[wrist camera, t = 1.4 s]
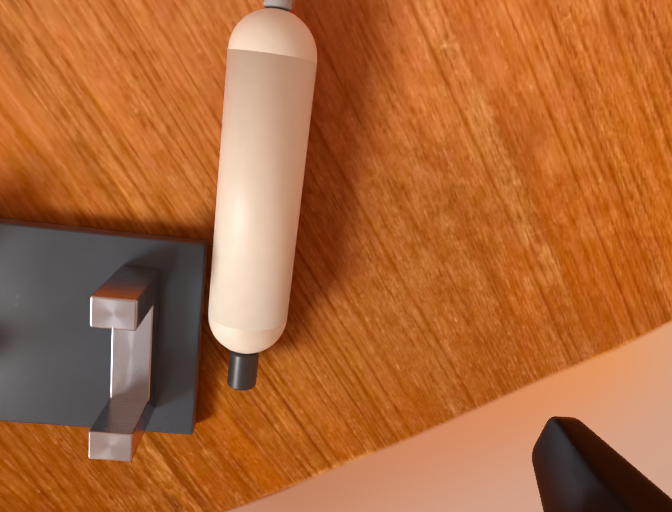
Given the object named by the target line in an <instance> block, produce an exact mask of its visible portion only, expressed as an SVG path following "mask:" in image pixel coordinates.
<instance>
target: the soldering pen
mask: <svg viewBox="0 0 672 512" xmlns="http://www.w3.org/2000/svg"><path fill="white" fill-rule="evenodd" d="M292 3H293V0H264V3H263V5H264V7H266V8H263V9H259V10H256V11H253V12H251V13H250V14H248V15H247V16H245V17H244V18H243V19H242V20H241V21H240V22H239V23H238V24H237V25H236V27H235V29H234V30H233V32H232V34H231V37H230V40H229V45H228V51H227V64H226V78H225V91H224V105H223V118H222V132H221V145H220V159H219V173H218V186H217V200H216V213H215V227H214V240H213V254H212V267H211V281H210V295H209V308H208V321H209V324H210V328H211V331H212V333H213V335H214V336H215V338H216V339H217V340H218V341H219V342H220V343H221V344H222V345H223V346H224V347H226V348H227V349H229V350H230V358H229V369H228V381H227V382H228V385H229V386H230V387H231V388H233V389H236V390H249V389H252V388H253V387H254V386H255V385H256V378H257V368H258V359H259V352H261V351H263V350H265V349H267V348H269V347H270V346H271V345H273V344H274V343H275V342H276V341H277V340H278V339H279V337H280V336H281V335H282V333H283V331H284V329H285V326H286V321H287V316H288V308H289V299H290V291H291V282H292V274H293V265H294V256H295V248H296V239H297V231H298V222H299V214H300V205H301V197H302V188H303V180H304V171H305V162H306V154H307V145H308V137H309V128H310V120H311V111H312V103H313V94H314V86H315V77H316V69H317V49H316V44H315V41H314V38H313V36H312V34H311V32H310V30H309V29H308V27H307V26H306V25H305V24H304V22H303V21H302V20H301V19H299V18H298V17H297V16H295V15H294V14H292V13H290V12H288V11H291V10H292Z"/></svg>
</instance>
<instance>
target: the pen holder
mask: <svg viewBox="0 0 672 512" xmlns="http://www.w3.org/2000/svg"><path fill="white" fill-rule="evenodd" d="M207 257H208V241H207V240H199V239H189V238H180V237H171V236H162V235H153V234H144V233H135V232H125V231H116V230H107V229H98V228H89V227H80V226H70V225H61V224H52V223H43V222H34V221H25V220H15V219H6V218H0V421H10V422H24V423H38V424H52V425H66V426H80V427H92V428H91V429H90V431H89V459H102V460H117V461H132V459H133V457H134V455H135V452H136V450H137V448H138V446H139V444H140V441H141V439H142V437H143V435H144V432H145V431H149V432H163V433H177V434H193V432H194V428H195V425H196V412H197V398H198V384H199V370H200V356H201V342H202V327H203V313H204V299H205V285H206V271H207Z"/></svg>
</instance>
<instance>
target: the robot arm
mask: <svg viewBox="0 0 672 512" xmlns="http://www.w3.org/2000/svg"><path fill="white" fill-rule="evenodd" d="M532 462H533V467H534V471H535V476H536V480H537V485H538V488H539V493H540V497H541V502H542V506H543V510H544V512H672V499H671V498H670V497H669V496H668V495H666V494H665V493H664V492H663V491H662V490H660V489H659V488H658V487H657V486H656V485H655V484H654V483H652V482H651V481H650V480H648V478H647V477H645V476H644V475H643V474H642V473H641V472H640V471H638V470H637V469H636V468H635V467H634V466H632V465H631V464H630V463H629V462H628V461H627V460H625V459H624V458H623V457H622V456H621V455H620V454H618V453H617V452H616V451H615V450H614V449H613V448H611V447H610V446H609V445H608V444H607V443H606V442H604V441H603V440H602V439H601V438H600V437H599V436H597V435H596V434H595V433H594V432H593V431H592V430H590V429H589V428H588V427H587V426H586V425H585V424H583V423H582V422H581V421H580V420H578V419H576V418H571V417H556V416H555V417H552V418H550V419H549V420H548V421H547V423H546V425H545V427H544V429H543V431H542V433H541V434H540V436H539V438H538V440H537V442H536V444H535V446H534V448H533V452H532Z"/></svg>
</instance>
